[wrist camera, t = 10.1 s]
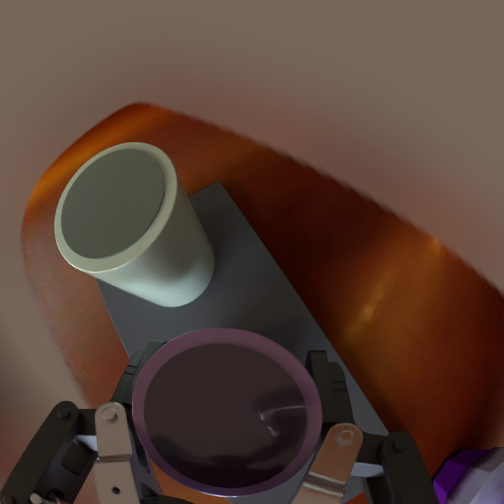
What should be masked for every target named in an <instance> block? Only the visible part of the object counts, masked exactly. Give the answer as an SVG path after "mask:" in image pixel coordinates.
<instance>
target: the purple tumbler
mask: <svg viewBox="0 0 504 504" xmlns="http://www.w3.org/2000/svg"><path fill="white" fill-rule="evenodd" d="M132 416H133V422H134V426H135V429H136V433H137V436H138V438H139V440H140V442H141V444H142V446H143V448H144V449H145V451H146V452H147V454H148V455H149V457H150V458H151V459H152V460H153V462H154V463H155V464H156V465H157V466H158V467H159V468H160V469H161V470H162V471H163V472H165V473H166V474H167V475H168V476H170V477H171V478H172V479H174V480H176V481H177V482H179V483H181V484H182V485H185V486H187V487H189V488H191V489H193V490H196V491H199V492H202V493H206V494H210V495H215V496H224V497H242V496H249V495H255V494H259V493H263V492H266V491H268V490H271V489H273V488H275V487H277V486H279V485H281V484H283V483H285V482H286V481H288V480H289V479H290V478H292V477H293V476H294V475H295V474H297V473H298V472H299V471H300V470H301V469H302V468H303V467H304V465H305V464H306V463H307V462H308V460H309V459H310V457H311V456H312V454H313V452H314V450H315V449H316V446H317V444H318V441H319V438H320V434H321V430H322V420H323V413H322V404H321V399H320V395H319V392H318V390H317V387H316V385H315V382H314V380H313V379H312V377H311V375H310V374H309V372H308V371H307V369H306V368H305V367H304V365H303V364H302V363H301V362H300V361H299V360H298V359H297V358H296V357H295V356H294V355H293V354H292V353H291V352H290V351H288V350H287V349H286V348H284V347H283V346H282V345H280V344H278V343H276V342H275V341H273V340H271V339H269V338H267V337H265V336H262V335H260V334H258V333H254V332H251V331H247V330H243V329H237V328H227V327H214V328H204V329H199V330H194V331H191V332H188V333H185V334H182V335H180V336H178V337H176V338H174V339H172V340H170V341H169V342H167V343H166V344H164V345H163V346H161V347H160V348H159V349H158V350H157V351H156V352H155V353H154V354H153V355H152V356H151V357H150V358H149V359H148V361H147V362H146V363H145V365H144V366H143V368H142V370H141V371H140V373H139V376H138V378H137V380H136V383H135V387H134V391H133V398H132Z"/></svg>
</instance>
